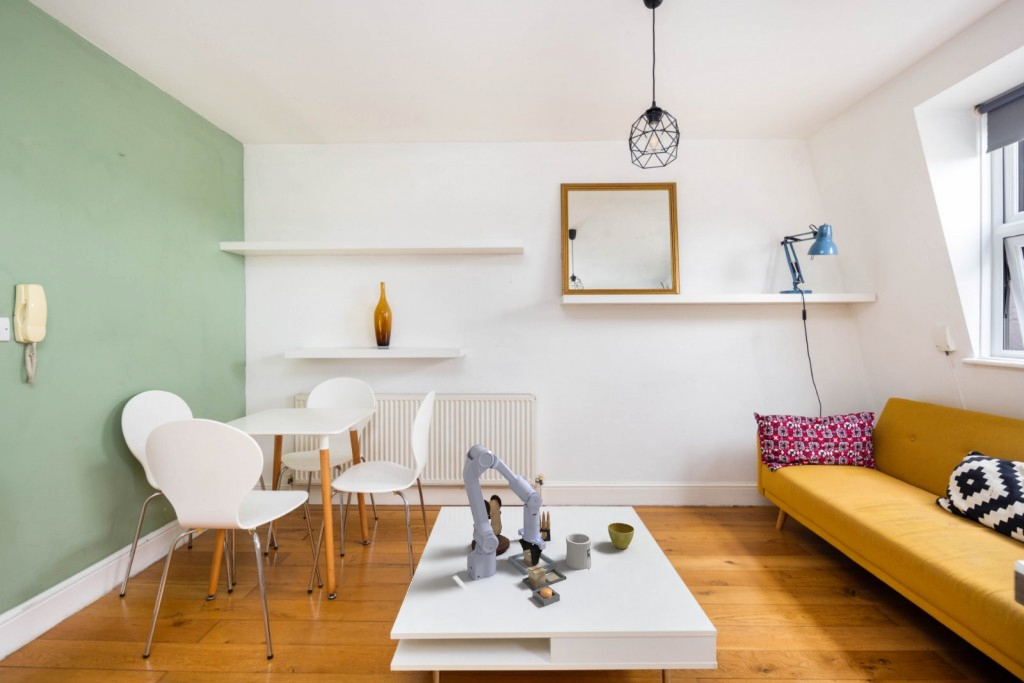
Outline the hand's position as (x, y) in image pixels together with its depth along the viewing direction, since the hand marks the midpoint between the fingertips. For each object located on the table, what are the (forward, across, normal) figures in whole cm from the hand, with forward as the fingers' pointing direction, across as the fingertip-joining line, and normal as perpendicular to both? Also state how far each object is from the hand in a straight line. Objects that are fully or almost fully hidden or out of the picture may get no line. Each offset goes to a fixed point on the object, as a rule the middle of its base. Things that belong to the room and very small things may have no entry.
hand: (531, 561), depth 164 cm
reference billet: (0, -12, +6) cm, 13 cm away
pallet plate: (+1, -12, +3) cm, 12 cm away
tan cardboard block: (+1, 0, 0) cm, 1 cm away
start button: (+1, -21, +9) cm, 23 cm away
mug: (+2, -8, -15) cm, 17 cm away
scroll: (+2, +19, +6) cm, 20 cm away
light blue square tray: (+1, 0, 0) cm, 1 cm away
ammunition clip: (+2, +15, -13) cm, 20 cm away
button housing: (+1, -21, +9) cm, 23 cm away
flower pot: (+2, -6, -38) cm, 39 cm away
